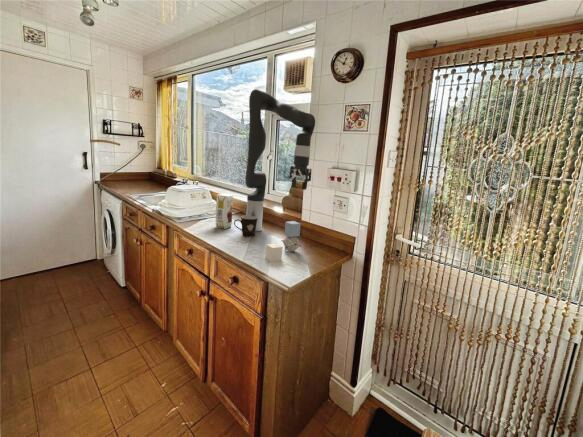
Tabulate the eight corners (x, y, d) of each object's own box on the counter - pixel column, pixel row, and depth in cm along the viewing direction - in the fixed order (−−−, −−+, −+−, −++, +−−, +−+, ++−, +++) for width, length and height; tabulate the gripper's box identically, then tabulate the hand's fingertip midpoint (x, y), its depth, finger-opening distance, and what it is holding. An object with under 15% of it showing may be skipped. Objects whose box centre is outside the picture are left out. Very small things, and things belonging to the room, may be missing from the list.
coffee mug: (257, 234, 163) (259, 216, 161) (254, 238, 155) (255, 219, 153) (237, 232, 164) (238, 214, 162) (232, 236, 156) (233, 217, 154)
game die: (293, 258, 142) (308, 243, 140) (285, 256, 134) (300, 241, 133) (282, 245, 146) (296, 230, 144) (274, 242, 139) (288, 227, 137)
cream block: (265, 257, 129) (266, 244, 128) (275, 256, 132) (276, 243, 131) (271, 261, 125) (272, 248, 124) (281, 260, 128) (282, 246, 127)
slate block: (284, 234, 139) (285, 221, 138) (293, 233, 142) (294, 221, 141) (290, 237, 135) (291, 224, 134) (299, 236, 138) (300, 223, 137)
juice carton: (213, 227, 169) (215, 194, 165) (221, 224, 177) (222, 192, 173) (225, 229, 167) (227, 196, 163) (233, 226, 175) (234, 194, 171)
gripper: (287, 154, 150) (284, 186, 153) (305, 155, 139) (301, 190, 142) (298, 155, 154) (296, 186, 158) (317, 156, 143) (313, 190, 147)
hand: (298, 188), depth 150 cm, fingers open, 8 cm apart
